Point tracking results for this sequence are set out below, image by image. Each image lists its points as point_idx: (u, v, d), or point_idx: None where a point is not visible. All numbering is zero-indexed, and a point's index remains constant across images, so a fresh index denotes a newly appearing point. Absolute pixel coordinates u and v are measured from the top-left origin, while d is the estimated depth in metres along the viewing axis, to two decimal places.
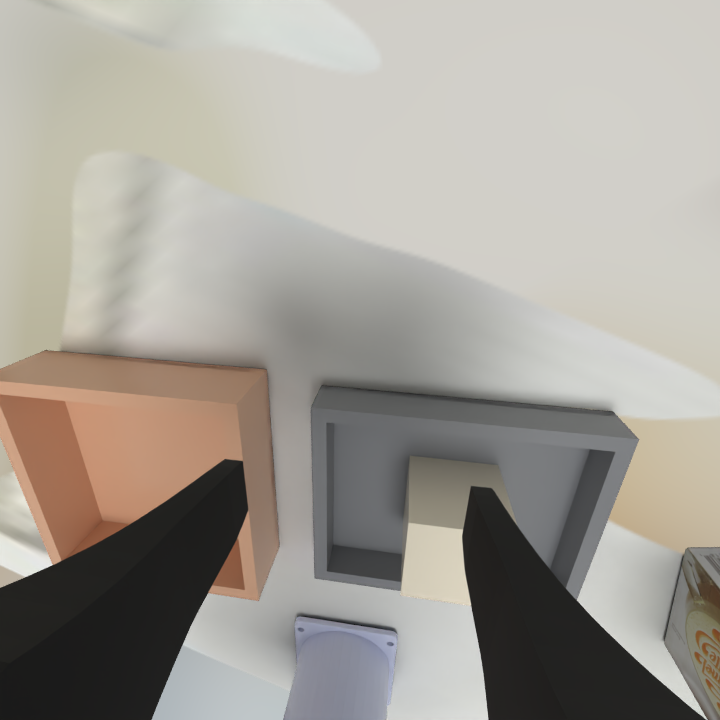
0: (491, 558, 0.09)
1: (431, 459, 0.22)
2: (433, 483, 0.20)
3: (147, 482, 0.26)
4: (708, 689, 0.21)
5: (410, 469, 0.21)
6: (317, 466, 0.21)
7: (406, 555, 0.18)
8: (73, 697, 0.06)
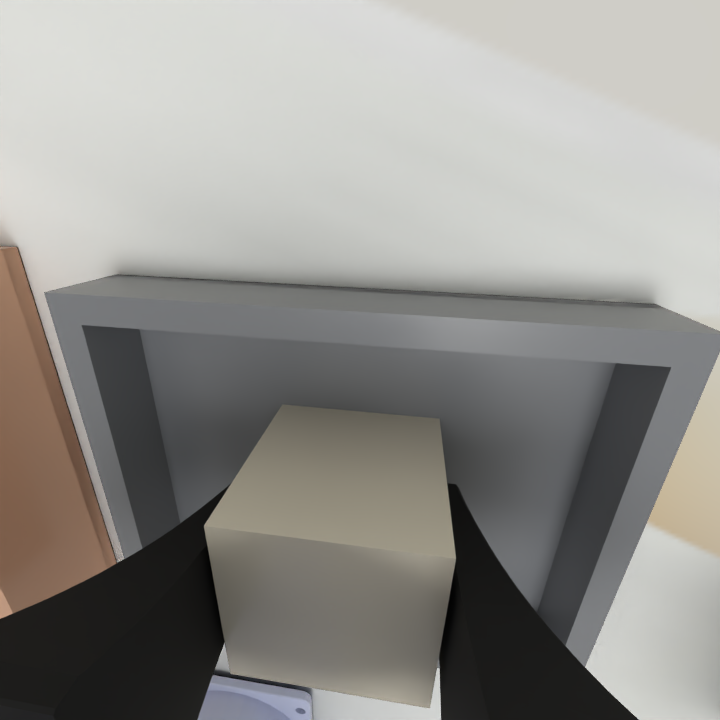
0: None
1: (319, 410, 0.12)
2: (302, 447, 0.10)
3: None
4: None
5: (271, 425, 0.11)
6: (91, 419, 0.11)
7: (219, 596, 0.08)
8: (131, 708, 0.06)
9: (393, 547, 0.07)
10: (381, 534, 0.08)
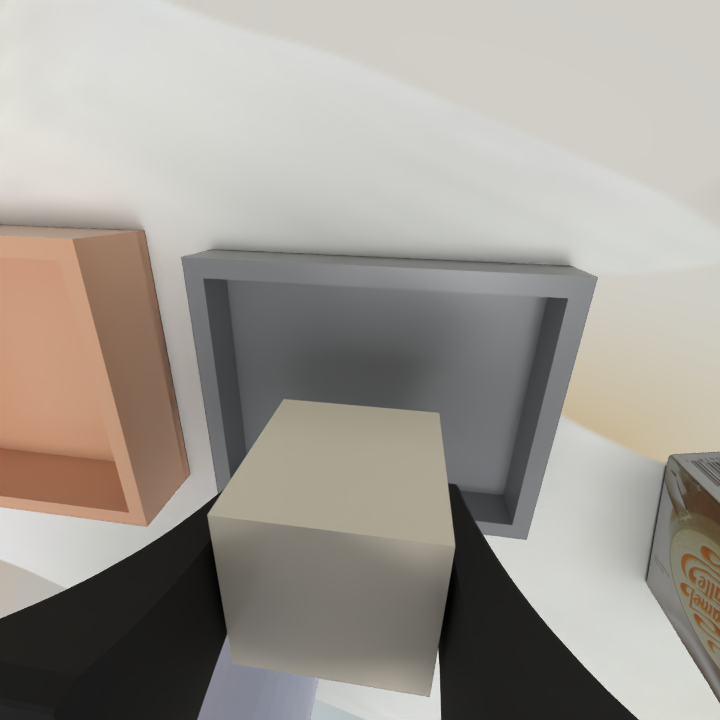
0: None
1: (320, 404, 0.12)
2: (304, 440, 0.10)
3: (25, 392, 0.21)
4: (697, 626, 0.17)
5: (272, 419, 0.11)
6: (201, 344, 0.16)
7: (222, 586, 0.09)
8: (130, 708, 0.06)
9: (394, 535, 0.07)
10: (381, 524, 0.08)
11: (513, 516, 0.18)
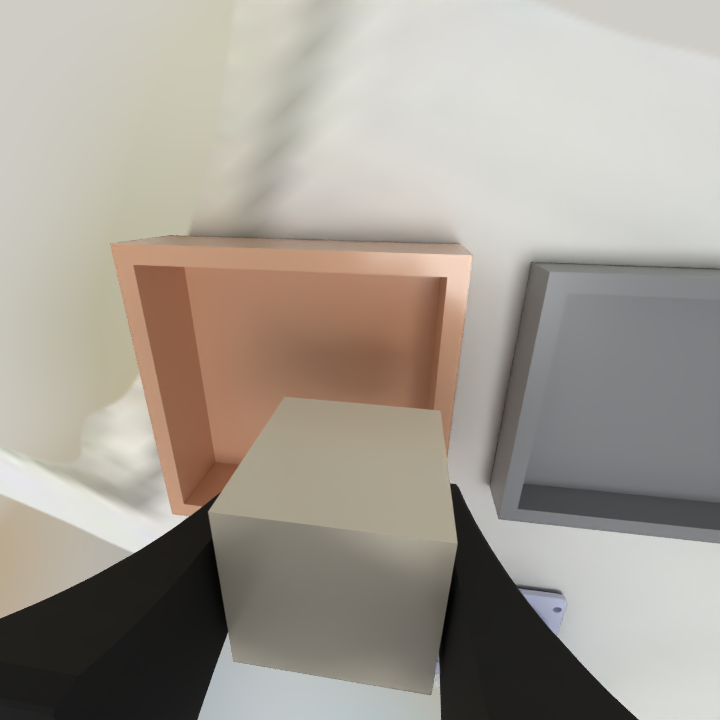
0: None
1: (321, 402, 0.12)
2: (305, 438, 0.10)
3: None
4: None
5: (273, 416, 0.11)
6: (539, 359, 0.16)
7: (223, 583, 0.09)
8: (131, 708, 0.06)
9: (395, 532, 0.07)
10: (383, 520, 0.08)
11: None
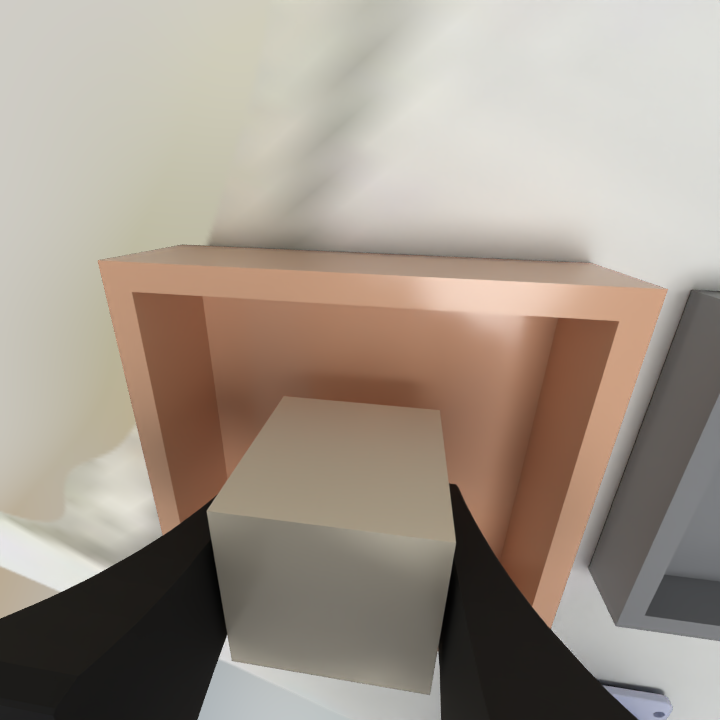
0: None
1: (320, 401, 0.12)
2: (304, 437, 0.10)
3: None
4: None
5: (272, 415, 0.11)
6: (713, 432, 0.11)
7: (221, 582, 0.09)
8: (131, 708, 0.06)
9: (394, 531, 0.07)
10: (381, 520, 0.08)
11: None
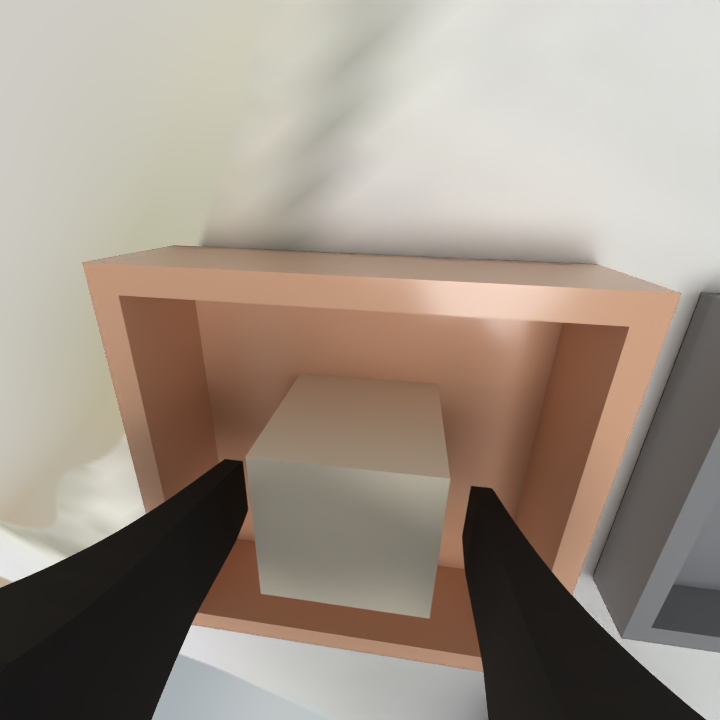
0: (491, 558, 0.09)
1: (333, 377, 0.14)
2: (321, 404, 0.12)
3: None
4: None
5: (292, 388, 0.13)
6: None
7: (255, 520, 0.10)
8: (73, 697, 0.06)
9: (400, 471, 0.09)
10: (389, 463, 0.09)
11: None
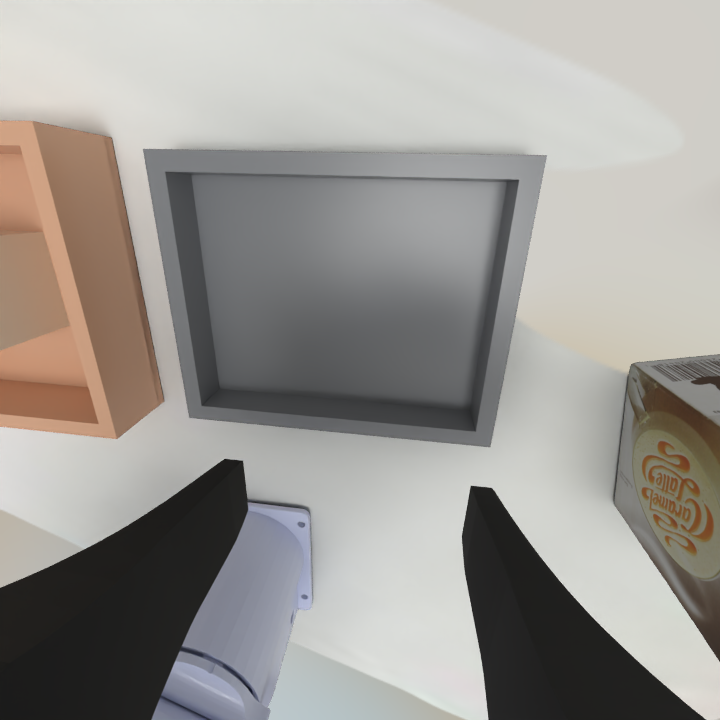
0: (491, 558, 0.09)
1: None
2: None
3: None
4: (656, 526, 0.17)
5: None
6: (165, 244, 0.17)
7: None
8: (73, 697, 0.06)
9: None
10: None
11: (476, 422, 0.18)
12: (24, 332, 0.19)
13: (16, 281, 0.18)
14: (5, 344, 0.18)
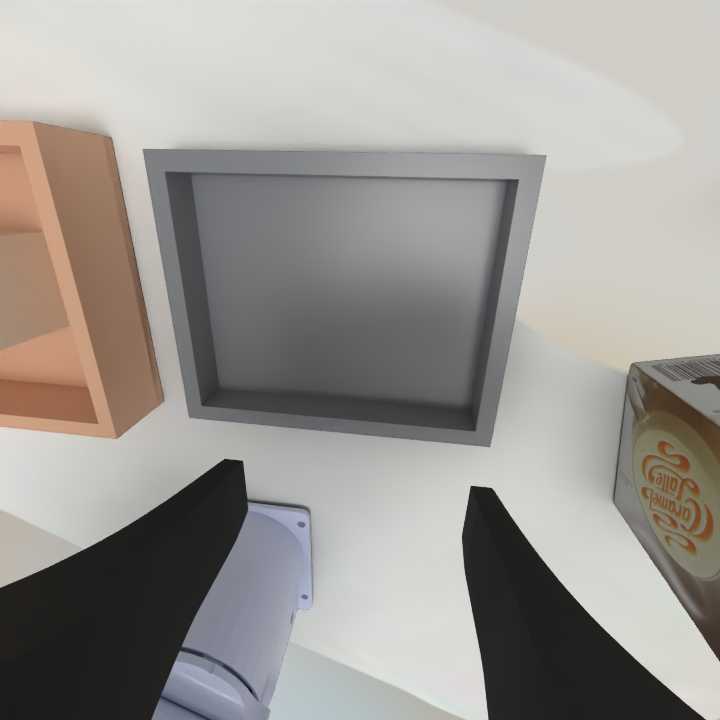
0: (491, 558, 0.09)
1: None
2: None
3: None
4: (656, 526, 0.17)
5: None
6: (165, 244, 0.17)
7: None
8: (73, 697, 0.06)
9: None
10: None
11: (476, 422, 0.18)
12: (24, 332, 0.19)
13: (16, 281, 0.18)
14: (5, 344, 0.18)
